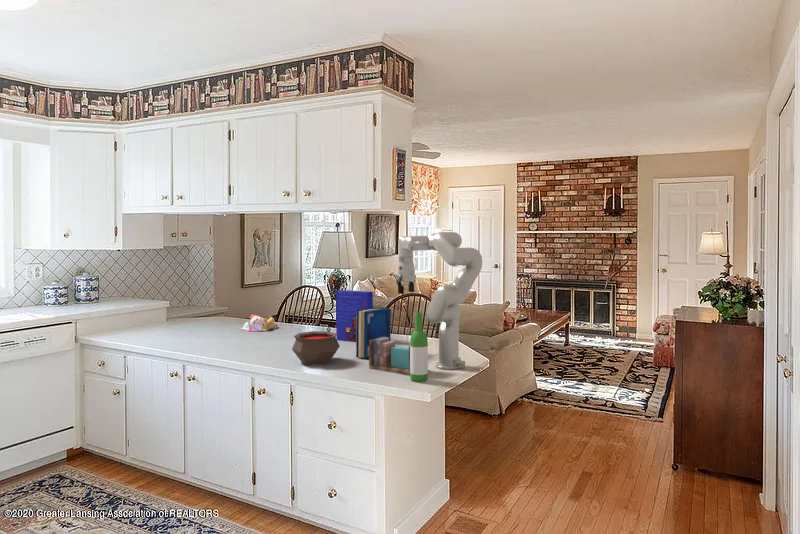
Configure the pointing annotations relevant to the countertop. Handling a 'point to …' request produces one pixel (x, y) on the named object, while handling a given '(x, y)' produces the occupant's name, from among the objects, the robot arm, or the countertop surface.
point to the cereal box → (350, 312)
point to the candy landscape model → (259, 324)
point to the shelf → (384, 356)
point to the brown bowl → (315, 347)
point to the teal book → (400, 357)
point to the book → (371, 328)
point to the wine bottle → (418, 352)
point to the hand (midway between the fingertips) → (406, 292)
